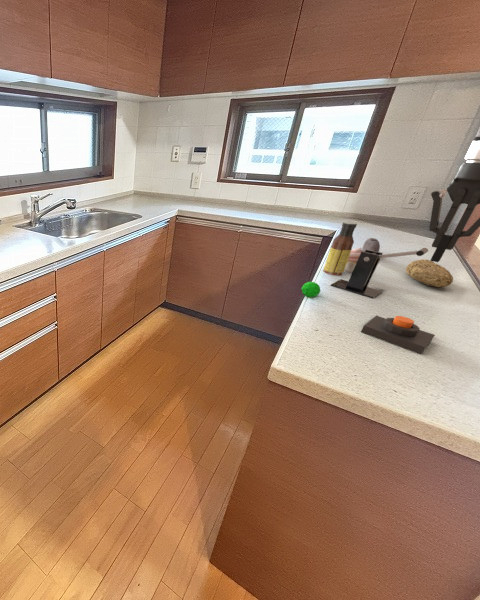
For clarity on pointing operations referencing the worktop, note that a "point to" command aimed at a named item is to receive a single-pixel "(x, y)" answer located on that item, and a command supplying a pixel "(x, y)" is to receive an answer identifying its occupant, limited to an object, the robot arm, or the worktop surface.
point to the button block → (398, 334)
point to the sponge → (429, 273)
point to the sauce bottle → (340, 250)
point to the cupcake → (352, 260)
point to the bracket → (362, 275)
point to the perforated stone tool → (371, 245)
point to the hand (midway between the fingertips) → (435, 260)
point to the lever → (404, 253)
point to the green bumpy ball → (311, 289)
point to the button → (403, 322)
